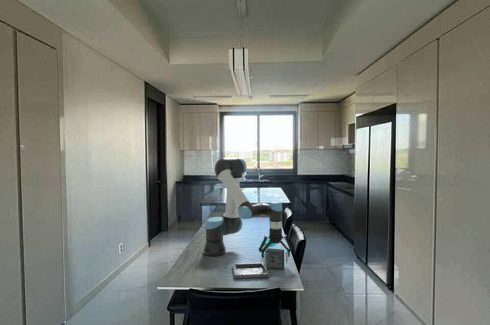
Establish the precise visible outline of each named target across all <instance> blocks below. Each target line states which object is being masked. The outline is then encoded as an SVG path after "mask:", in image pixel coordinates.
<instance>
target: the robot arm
mask: <svg viewBox="0 0 490 325" xmlns="http://www.w3.org/2000/svg"><path fill="white" fill-rule="evenodd" d="M246 172H247V163H246V161H245V160H244V158H242V157H238V156H237V157H236V156H235V157H232V156H231V157H221V158H219V159H218V160H217V161H216V162H215V165H214V174H215V176H216V178H217V179H218V180H219V181H221V183H222V184H223V186H224V187H225V189H226V195H225V196H226V198H225V199H226V200H225V212H224V213H223V214H222V217H221V216H213V217H209V218H208V219H206V222H205V242H204V246H203V250H202V251H203V252H202V253H203V254H204V255H205V256H208V257H219V256H223V255H225V254H226V253H227V251H226V246H225V242H224V236H228V235H234V234H236V233H239V232H240V231H241V230H242V228H243V221H242V220H250V219H253V218H258V217H264V216H265V217H268V218H269V219H268V220H269V222H268V223H269V226H268V227H269V232H268V233H269V234H268V235H264V236H263V242H262V241H261V244H260V246H259V248H258V252H259V253H261V252H262V254H261V259H262V262H263V263H264V264H265V265H266V257H265V250H266V249H268V248H270V247H269V246H270V245H271V244H272V243H273V244H275V243H277V244H281V245H282V246H283V248H285V249H284V250H285V262H286V263H287V264H288V263H289V258H290V256H291V252H293V250H294V249H293V247H292V245H291V243H290V241H289V239H288V235H287V234H284V235H283V228H282V227H283V203H282V202H281V201H270V202H269V203H265V202H257V203H255V204H252V203H251V202H250V200H249V199H248V198H247V196H246V195H245V193H244V192H243V190H242V188H241V186H240V185H241V184H240V182H241V180H242V178H243V174H245V173H246ZM267 239H270V240H269V242H268V243H267V244H266V245H265V246H264V244H265V242H266V240H267ZM282 240H285V242H286V244H287V246H286V244H285V243H284V241H282ZM277 244H276V245H277Z"/></svg>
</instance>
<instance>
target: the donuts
mask: <svg viewBox="0 0 490 325" xmlns="http://www.w3.org/2000/svg"><path fill="white" fill-rule="evenodd" d="M263 240H264V239H263ZM263 240H261V243H262V242H263ZM269 240H270V239H269V238H268V239H267V240H266V242H265V244H264V246H263V247H265V245H266V244H267V243H268V242H269ZM275 246H277V243H275V244H273V243H272V244H271V245H270V246H269V247H268V248H272V247H275ZM268 248H267V249H268ZM267 249H266V250H267ZM266 250H265V258H266ZM260 253H261V255H262V252H260Z"/></svg>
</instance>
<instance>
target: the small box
mask: <svg viewBox="0 0 490 325" xmlns="http://www.w3.org/2000/svg"><path fill="white" fill-rule="evenodd" d="M265 266H266V268H267V269H273V270H281V271H283V270H284V268H285V249H281V248H272V247H268V248H267V250H266V257H265Z"/></svg>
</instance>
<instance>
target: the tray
mask: <svg viewBox="0 0 490 325" xmlns="http://www.w3.org/2000/svg"><path fill="white" fill-rule="evenodd" d="M232 272H233V278H234V280H251V279H252V280H253V279H269V278H270V273H269V271H268V268H266V263H265V264H264V263H263V261H261V262H240V263H239V262H238V263H237V262H234V263H232Z"/></svg>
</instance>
